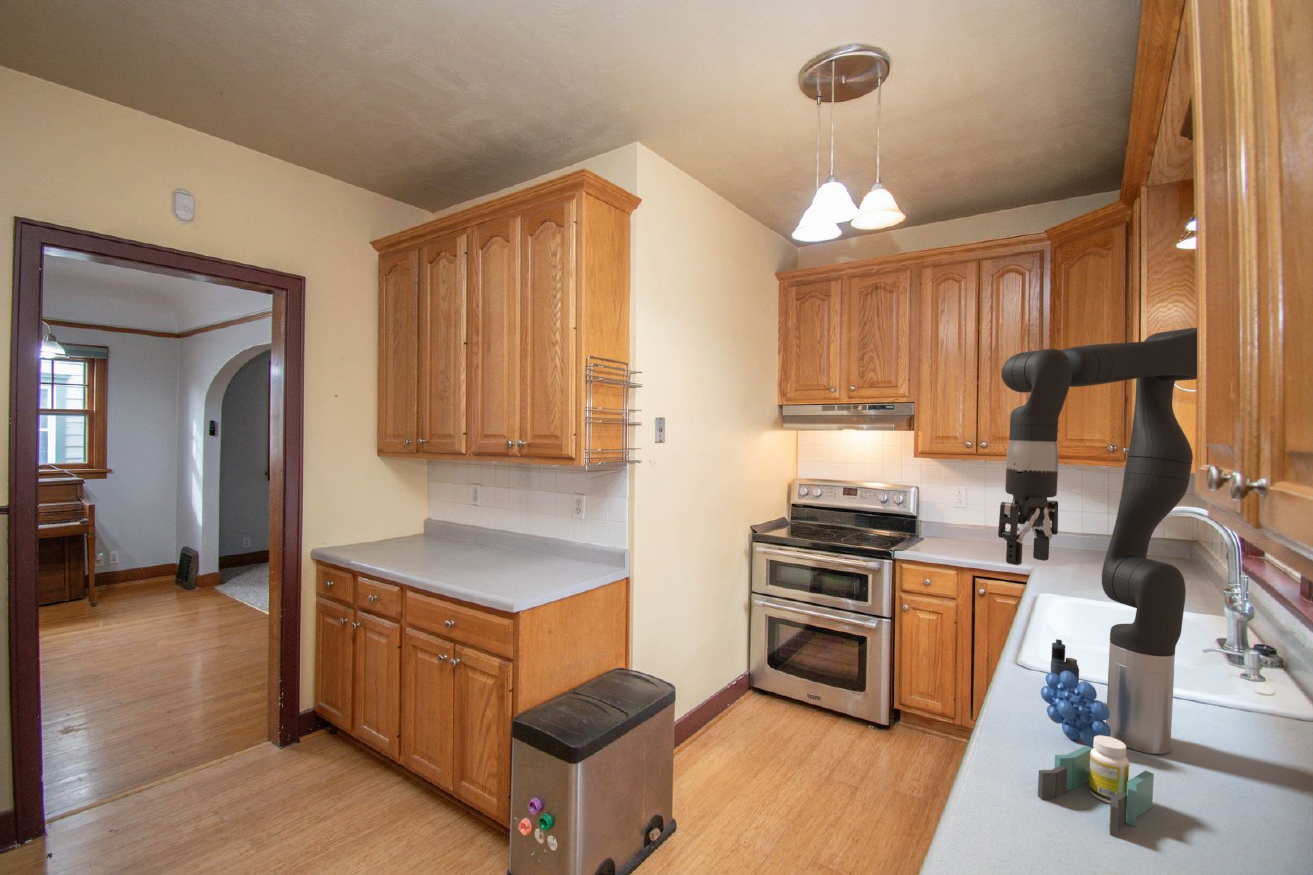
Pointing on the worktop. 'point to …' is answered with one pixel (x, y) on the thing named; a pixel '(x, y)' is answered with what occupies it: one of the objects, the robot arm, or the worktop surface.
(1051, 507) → the robot arm
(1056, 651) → the vaping device
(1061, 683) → the grapes
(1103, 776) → the supplement bottle
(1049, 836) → the worktop surface
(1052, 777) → the pair of grey blocks
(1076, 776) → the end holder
